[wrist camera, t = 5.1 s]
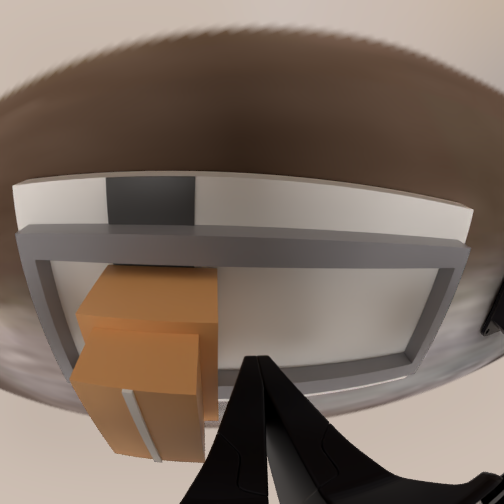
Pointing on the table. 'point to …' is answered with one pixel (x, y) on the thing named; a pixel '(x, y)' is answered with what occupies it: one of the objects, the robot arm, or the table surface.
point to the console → (256, 264)
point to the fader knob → (150, 359)
